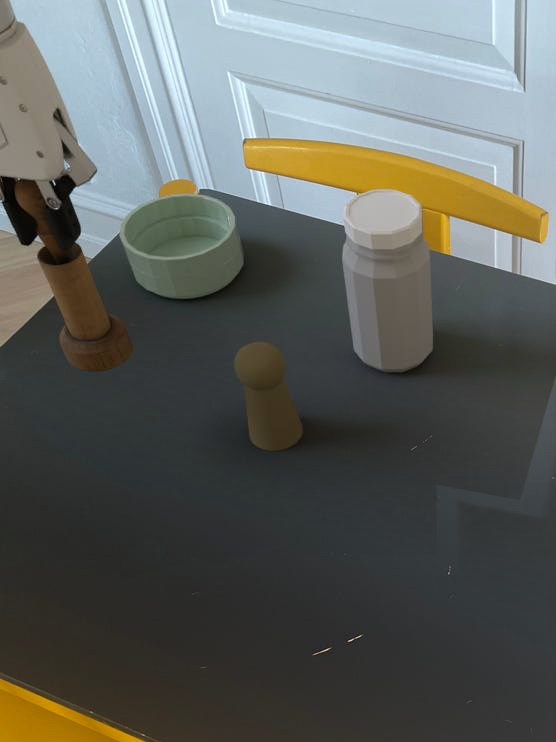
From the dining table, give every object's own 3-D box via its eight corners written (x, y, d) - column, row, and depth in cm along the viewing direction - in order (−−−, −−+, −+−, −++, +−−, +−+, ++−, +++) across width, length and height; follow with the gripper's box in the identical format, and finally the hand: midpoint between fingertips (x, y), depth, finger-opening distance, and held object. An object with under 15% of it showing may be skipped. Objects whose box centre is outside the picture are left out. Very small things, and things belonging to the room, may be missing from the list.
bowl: (117, 295, 113) (101, 252, 108) (158, 231, 121) (145, 188, 116) (224, 308, 112) (212, 265, 107) (258, 242, 120) (249, 200, 115)
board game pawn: (305, 412, 102) (288, 332, 93) (300, 450, 99) (283, 371, 89) (252, 413, 102) (230, 333, 93) (246, 451, 98) (223, 372, 89)
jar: (422, 383, 105) (414, 243, 90) (343, 370, 106) (322, 229, 91) (443, 331, 110) (439, 191, 95) (367, 319, 111) (352, 178, 96)
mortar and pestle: (142, 333, 92) (79, 161, 77) (121, 375, 89) (51, 204, 74) (79, 328, 92) (5, 155, 77) (57, 370, 89) (-26, 198, 74)
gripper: (-178, 19, 63) (-53, 252, 79) (38, 45, 62) (121, 277, 78) (-121, -26, 67) (-13, 204, 83) (83, -3, 66) (154, 227, 82)
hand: (51, 237), depth 80 cm, fingers closed on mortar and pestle, 3 cm apart
